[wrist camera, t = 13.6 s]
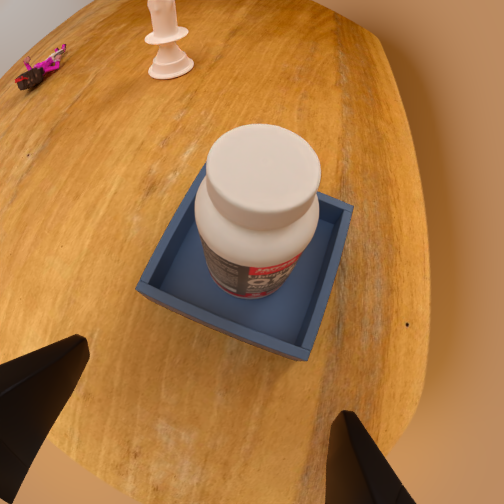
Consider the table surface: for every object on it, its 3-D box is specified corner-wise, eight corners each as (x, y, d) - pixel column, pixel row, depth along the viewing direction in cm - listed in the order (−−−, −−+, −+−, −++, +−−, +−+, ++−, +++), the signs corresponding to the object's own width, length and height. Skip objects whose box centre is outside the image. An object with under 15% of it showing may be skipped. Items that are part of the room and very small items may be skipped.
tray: (296, 361, 17) (307, 361, 14) (148, 299, 18) (134, 289, 15) (341, 224, 20) (354, 205, 18) (212, 176, 21) (210, 153, 19)
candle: (203, 62, 27) (199, -28, 16) (172, 84, 26) (159, -15, 14) (169, 54, 28) (159, -27, 17) (139, 75, 26) (120, -12, 15)
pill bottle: (255, 319, 17) (279, 269, 8) (189, 264, 18) (150, 169, 9) (307, 254, 19) (364, 160, 10) (244, 207, 20) (252, 93, 11)
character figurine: (52, 61, 31) (14, 99, 25) (46, 38, 26) (4, 73, 21) (77, 54, 31) (40, 91, 26) (72, 30, 27) (31, 62, 21)
